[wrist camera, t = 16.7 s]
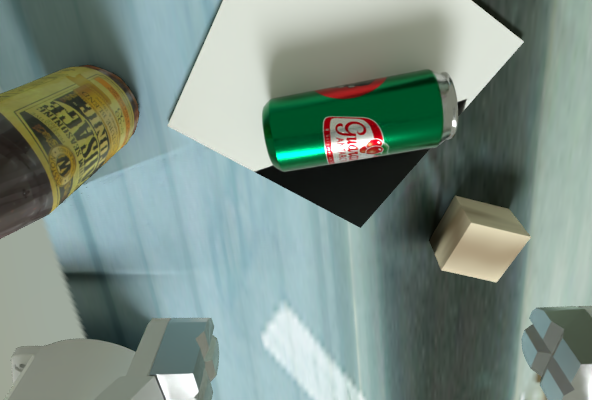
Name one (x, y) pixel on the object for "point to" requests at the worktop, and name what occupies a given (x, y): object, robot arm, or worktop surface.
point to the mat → (330, 79)
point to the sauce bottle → (58, 138)
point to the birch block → (477, 239)
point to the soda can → (360, 120)
